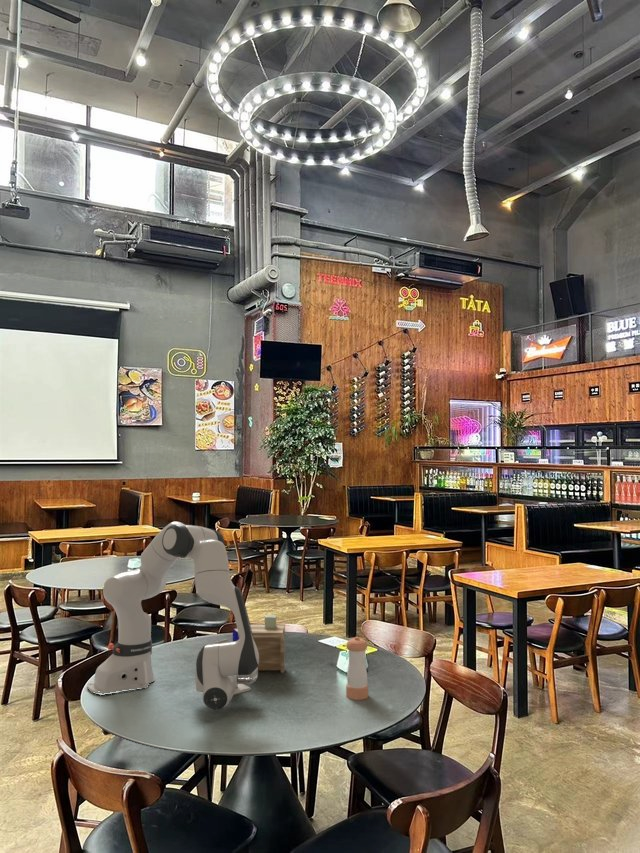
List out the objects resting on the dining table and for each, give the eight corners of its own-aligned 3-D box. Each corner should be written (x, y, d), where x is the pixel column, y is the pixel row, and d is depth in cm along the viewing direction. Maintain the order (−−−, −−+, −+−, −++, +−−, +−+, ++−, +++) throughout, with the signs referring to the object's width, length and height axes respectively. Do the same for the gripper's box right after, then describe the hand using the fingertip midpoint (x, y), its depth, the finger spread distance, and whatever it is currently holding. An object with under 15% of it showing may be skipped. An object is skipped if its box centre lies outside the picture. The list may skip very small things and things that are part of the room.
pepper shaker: (350, 701, 199) (349, 640, 200) (343, 693, 206) (343, 634, 207) (371, 698, 201) (370, 638, 202) (363, 691, 208) (363, 633, 209)
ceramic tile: (224, 697, 203) (224, 694, 203) (209, 688, 210) (209, 686, 210) (250, 690, 209) (250, 687, 209) (234, 682, 217) (234, 679, 217)
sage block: (275, 628, 226) (275, 617, 226) (264, 628, 226) (264, 617, 226) (276, 625, 230) (276, 614, 230) (265, 625, 230) (265, 614, 230)
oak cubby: (282, 680, 219) (282, 632, 220) (237, 680, 219) (238, 632, 220) (284, 669, 231) (284, 624, 232) (242, 669, 231) (242, 624, 232)
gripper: (256, 670, 194) (260, 656, 207) (191, 670, 193) (199, 657, 207) (256, 690, 193) (260, 676, 207) (191, 691, 193) (199, 676, 207)
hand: (229, 666), depth 207 cm, fingers open, 8 cm apart
